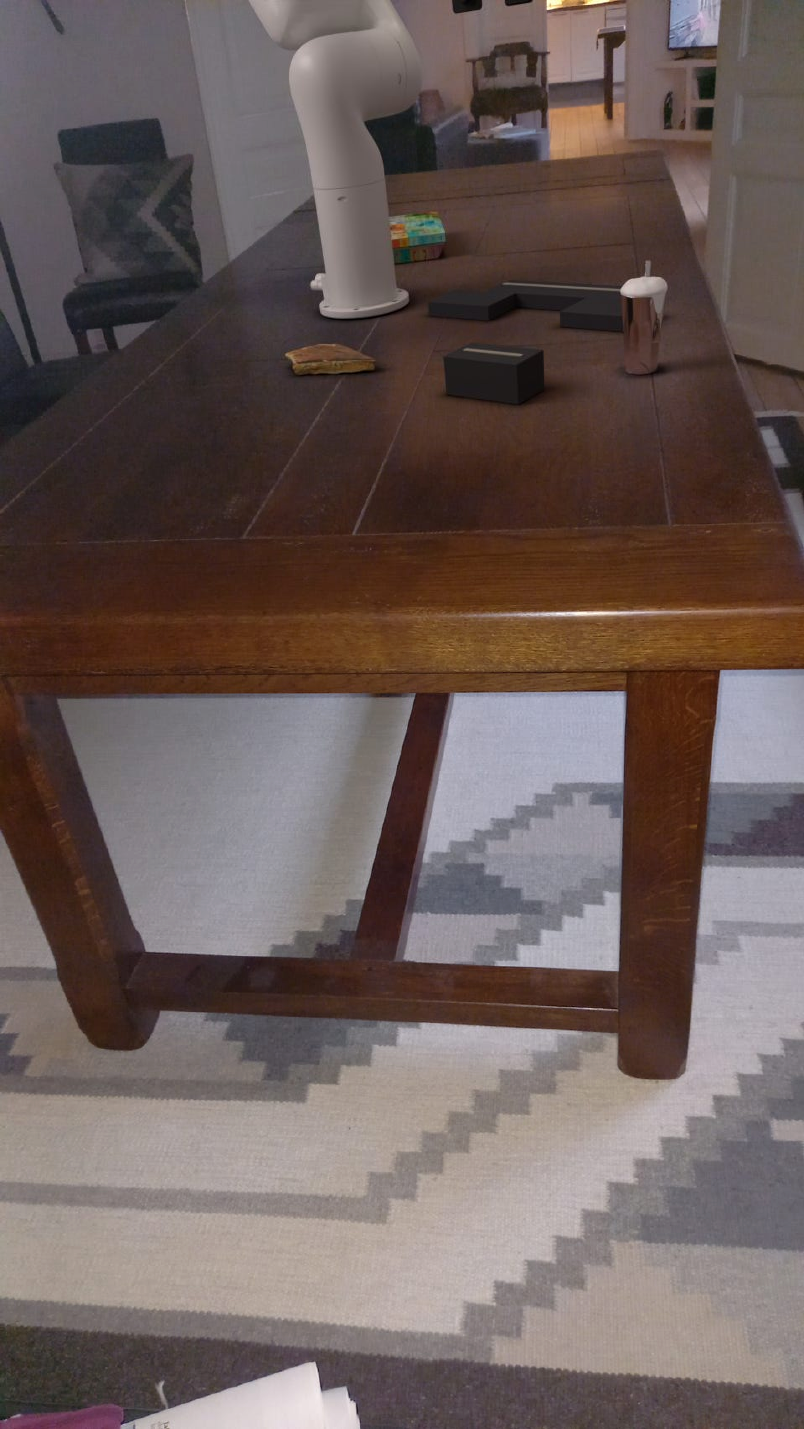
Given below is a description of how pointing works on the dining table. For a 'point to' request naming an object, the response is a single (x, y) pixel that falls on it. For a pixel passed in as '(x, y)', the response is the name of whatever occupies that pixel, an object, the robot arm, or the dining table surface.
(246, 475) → the dining table surface
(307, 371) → the toasted sandwich half
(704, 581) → the dining table surface
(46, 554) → the dining table surface
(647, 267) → the milkshake
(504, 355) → the pad
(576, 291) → the socket pad
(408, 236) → the puzzle game
